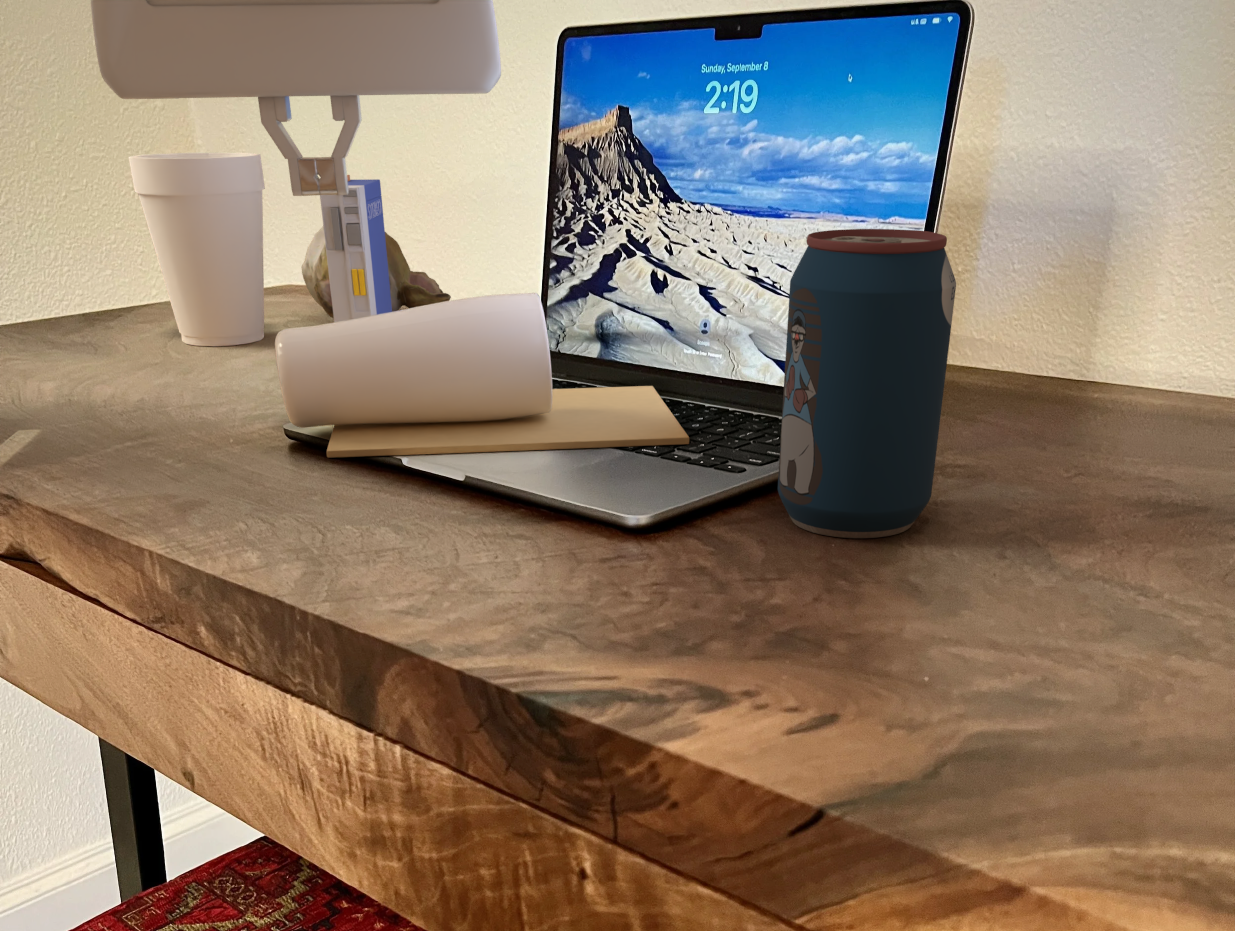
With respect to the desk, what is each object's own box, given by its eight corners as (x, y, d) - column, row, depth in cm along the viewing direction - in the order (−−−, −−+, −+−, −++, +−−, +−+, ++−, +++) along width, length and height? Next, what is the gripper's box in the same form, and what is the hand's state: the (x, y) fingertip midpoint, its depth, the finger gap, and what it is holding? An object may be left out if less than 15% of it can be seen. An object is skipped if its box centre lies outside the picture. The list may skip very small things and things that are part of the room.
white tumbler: (264, 312, 67) (543, 285, 69) (276, 319, 74) (531, 294, 75) (288, 444, 70) (557, 415, 71) (298, 440, 76) (544, 413, 78)
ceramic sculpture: (382, 195, 112) (453, 220, 101) (390, 299, 117) (459, 333, 106) (265, 203, 107) (327, 229, 97) (278, 310, 112) (339, 346, 102)
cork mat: (327, 457, 69) (326, 450, 69) (343, 402, 81) (342, 395, 80) (689, 444, 71) (689, 437, 71) (652, 391, 83) (652, 385, 83)
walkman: (359, 350, 96) (341, 173, 90) (396, 350, 96) (379, 173, 90) (337, 371, 89) (315, 181, 83) (376, 371, 89) (357, 181, 83)
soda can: (950, 513, 59) (987, 231, 53) (890, 552, 54) (922, 247, 48) (817, 490, 63) (837, 223, 57) (749, 526, 58) (762, 238, 52)
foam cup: (159, 352, 96) (124, 159, 89) (163, 332, 104) (131, 153, 97) (287, 345, 98) (262, 156, 92) (281, 326, 106) (258, 151, 99)
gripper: (494, -114, 65) (509, 186, 72) (85, -114, 63) (142, 194, 70) (499, -131, 60) (515, 194, 67) (52, -132, 58) (117, 204, 65)
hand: (321, 194), depth 68 cm, fingers closed
